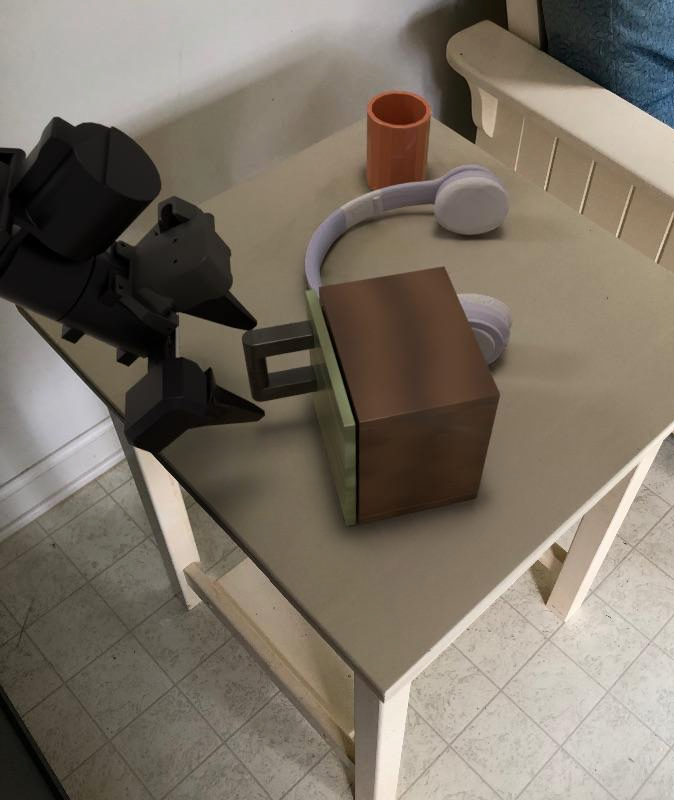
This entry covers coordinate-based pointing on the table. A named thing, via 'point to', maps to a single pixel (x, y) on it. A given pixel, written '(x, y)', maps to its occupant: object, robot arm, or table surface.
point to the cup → (397, 139)
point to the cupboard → (411, 390)
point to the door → (309, 389)
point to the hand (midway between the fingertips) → (257, 369)
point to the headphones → (454, 210)
